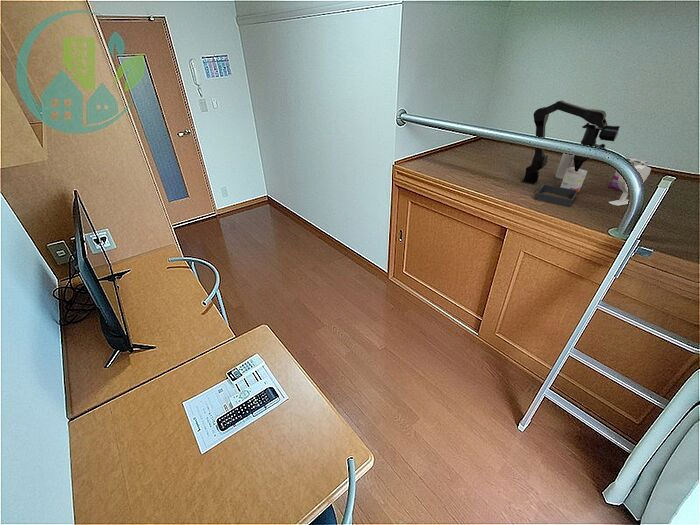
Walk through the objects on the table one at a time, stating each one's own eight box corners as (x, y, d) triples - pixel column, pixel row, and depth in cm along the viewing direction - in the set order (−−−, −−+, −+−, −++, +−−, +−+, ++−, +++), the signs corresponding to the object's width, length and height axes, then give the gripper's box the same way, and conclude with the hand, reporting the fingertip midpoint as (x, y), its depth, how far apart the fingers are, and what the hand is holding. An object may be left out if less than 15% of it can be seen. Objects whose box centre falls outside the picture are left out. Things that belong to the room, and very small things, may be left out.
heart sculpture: (626, 198, 166) (644, 163, 156) (636, 201, 162) (655, 166, 152) (605, 202, 161) (621, 166, 151) (615, 206, 157) (632, 169, 147)
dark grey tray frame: (534, 199, 166) (536, 192, 164) (541, 190, 176) (544, 184, 174) (569, 206, 157) (572, 200, 155) (575, 196, 168) (577, 190, 166)
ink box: (579, 192, 173) (588, 170, 167) (574, 193, 171) (583, 172, 165) (564, 187, 180) (572, 166, 173) (559, 188, 178) (566, 167, 171)
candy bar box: (635, 192, 172) (650, 161, 163) (628, 193, 171) (644, 162, 161) (614, 185, 181) (628, 156, 172) (608, 187, 179) (621, 157, 170)
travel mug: (554, 176, 195) (566, 141, 184) (566, 177, 193) (579, 143, 182) (553, 179, 191) (565, 144, 180) (566, 180, 188) (579, 145, 177)
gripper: (606, 144, 150) (593, 177, 159) (610, 137, 162) (598, 167, 171) (579, 141, 156) (567, 172, 165) (585, 134, 168) (574, 164, 177)
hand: (577, 169), depth 169 cm, fingers open, 9 cm apart
